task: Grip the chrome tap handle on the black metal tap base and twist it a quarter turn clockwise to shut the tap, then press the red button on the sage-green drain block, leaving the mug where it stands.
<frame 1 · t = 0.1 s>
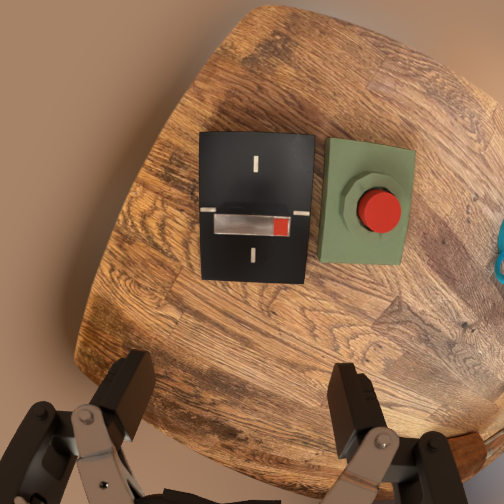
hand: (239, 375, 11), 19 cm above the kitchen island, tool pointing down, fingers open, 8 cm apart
tap base: (255, 204, 28), on the kitchen island
bread: (436, 448, 46), on the kitchen island
shield: (481, 452, 52), on the kitchen island
drain block: (363, 201, 27), on the kitchen island
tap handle: (253, 217, 22), point 6 cm above the kitchen island, hinge at 90.0°
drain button: (379, 210, 23), point 4 cm above the kitchen island, slide at 0.1 cm
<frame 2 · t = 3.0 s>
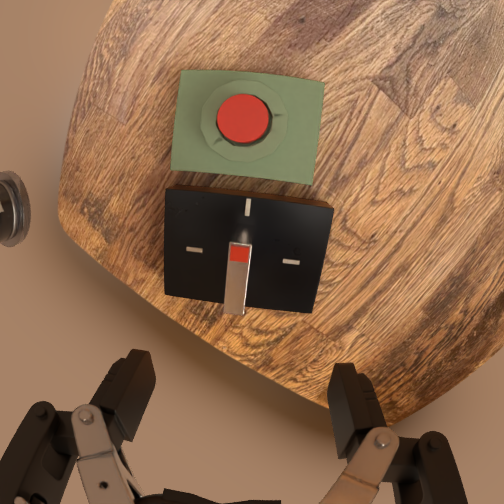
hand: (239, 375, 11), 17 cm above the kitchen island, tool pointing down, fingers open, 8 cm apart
tap base: (245, 243, 27), on the kitchen island
drain block: (247, 124, 23), on the kitchen island
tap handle: (239, 267, 22), point 6 cm above the kitchen island, hinge at 90.0°
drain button: (243, 119, 19), point 4 cm above the kitchen island, slide at 0.1 cm
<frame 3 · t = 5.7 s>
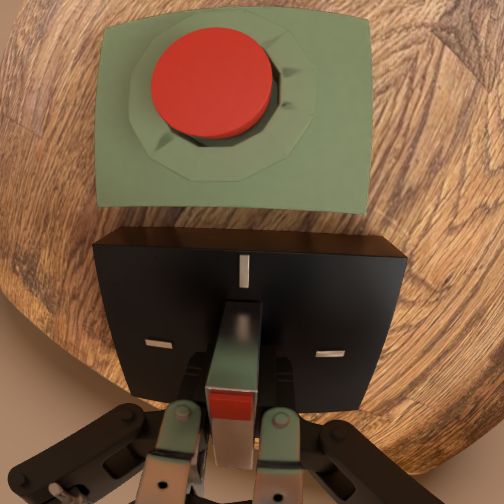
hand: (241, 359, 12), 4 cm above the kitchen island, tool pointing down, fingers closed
tap base: (247, 316, 16), on the kitchen island
drain block: (231, 105, 12), on the kitchen island
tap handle: (238, 391, 10), point 6 cm above the kitchen island, hinge at 90.0°, touching gripper
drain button: (213, 84, 8), point 4 cm above the kitchen island, slide at 0.1 cm
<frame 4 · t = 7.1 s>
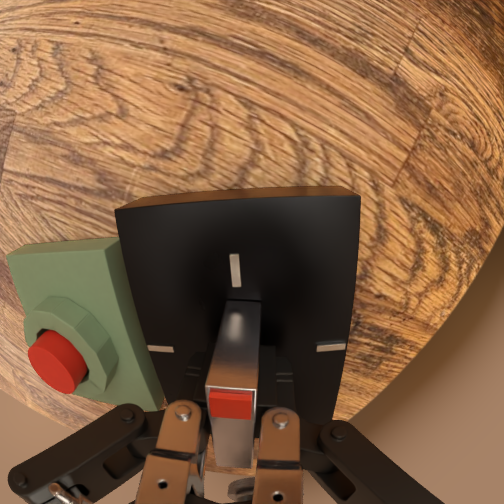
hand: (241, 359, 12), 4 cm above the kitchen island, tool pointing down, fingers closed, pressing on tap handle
tap base: (247, 315, 16), on the kitchen island
drain block: (90, 323, 17), on the kitchen island
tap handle: (238, 390, 10), point 6 cm above the kitchen island, hinge at -4.9°, touching gripper
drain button: (57, 362, 13), point 4 cm above the kitchen island, slide at 0.1 cm
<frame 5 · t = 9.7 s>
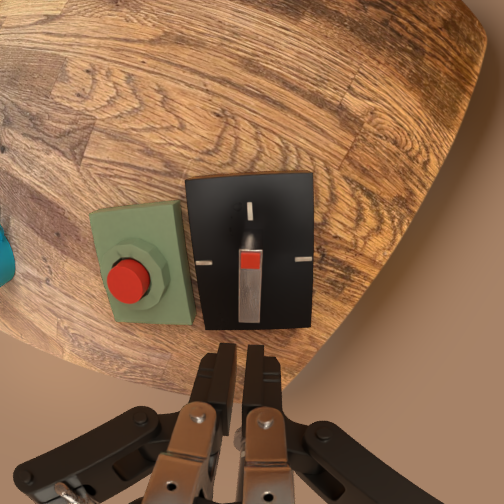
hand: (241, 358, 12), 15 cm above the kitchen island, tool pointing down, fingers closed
tap base: (254, 248, 26), on the kitchen island
drain block: (146, 262, 27), on the kitchen island
mug: (2, 246, 28), on the kitchen island
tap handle: (251, 274, 21), point 6 cm above the kitchen island, hinge at -4.9°
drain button: (128, 281, 23), point 4 cm above the kitchen island, slide at 0.1 cm
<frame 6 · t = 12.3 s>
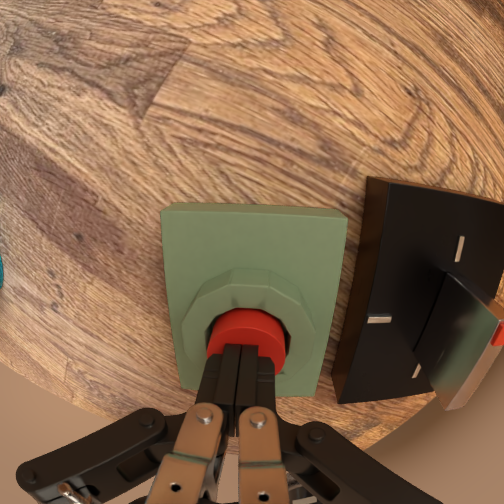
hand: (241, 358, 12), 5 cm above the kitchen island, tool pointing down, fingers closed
tap base: (417, 292, 16), on the kitchen island
drain block: (251, 303, 17), on the kitchen island
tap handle: (460, 341, 11), point 6 cm above the kitchen island, hinge at -4.9°
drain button: (247, 346, 13), point 4 cm above the kitchen island, slide at -0.2 cm, touching gripper
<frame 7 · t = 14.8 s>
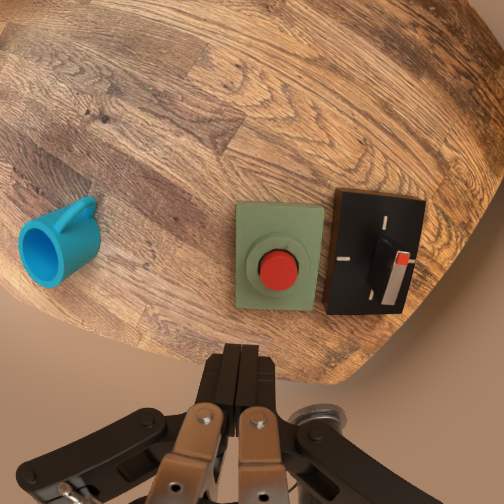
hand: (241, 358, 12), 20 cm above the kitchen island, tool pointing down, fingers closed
tap base: (369, 250, 31), on the kitchen island
drain block: (277, 254, 32), on the kitchen island
mug: (84, 224, 32), on the kitchen island
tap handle: (387, 269, 26), point 6 cm above the kitchen island, hinge at -4.9°
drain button: (278, 270, 28), point 4 cm above the kitchen island, slide at 0.1 cm
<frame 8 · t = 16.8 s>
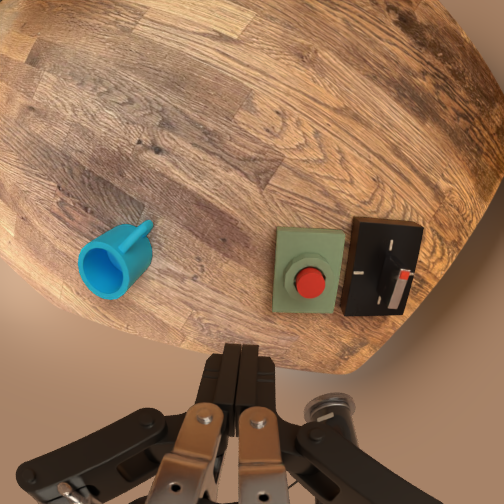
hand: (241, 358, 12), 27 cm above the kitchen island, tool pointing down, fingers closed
tap base: (378, 265, 39), on the kitchen island
drain block: (305, 268, 40), on the kitchen island
mug: (136, 241, 40), on the kitchen island
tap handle: (392, 281, 34), point 6 cm above the kitchen island, hinge at -4.9°
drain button: (310, 283, 36), point 4 cm above the kitchen island, slide at 0.1 cm
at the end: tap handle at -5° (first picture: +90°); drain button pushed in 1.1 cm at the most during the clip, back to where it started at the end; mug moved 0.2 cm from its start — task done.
